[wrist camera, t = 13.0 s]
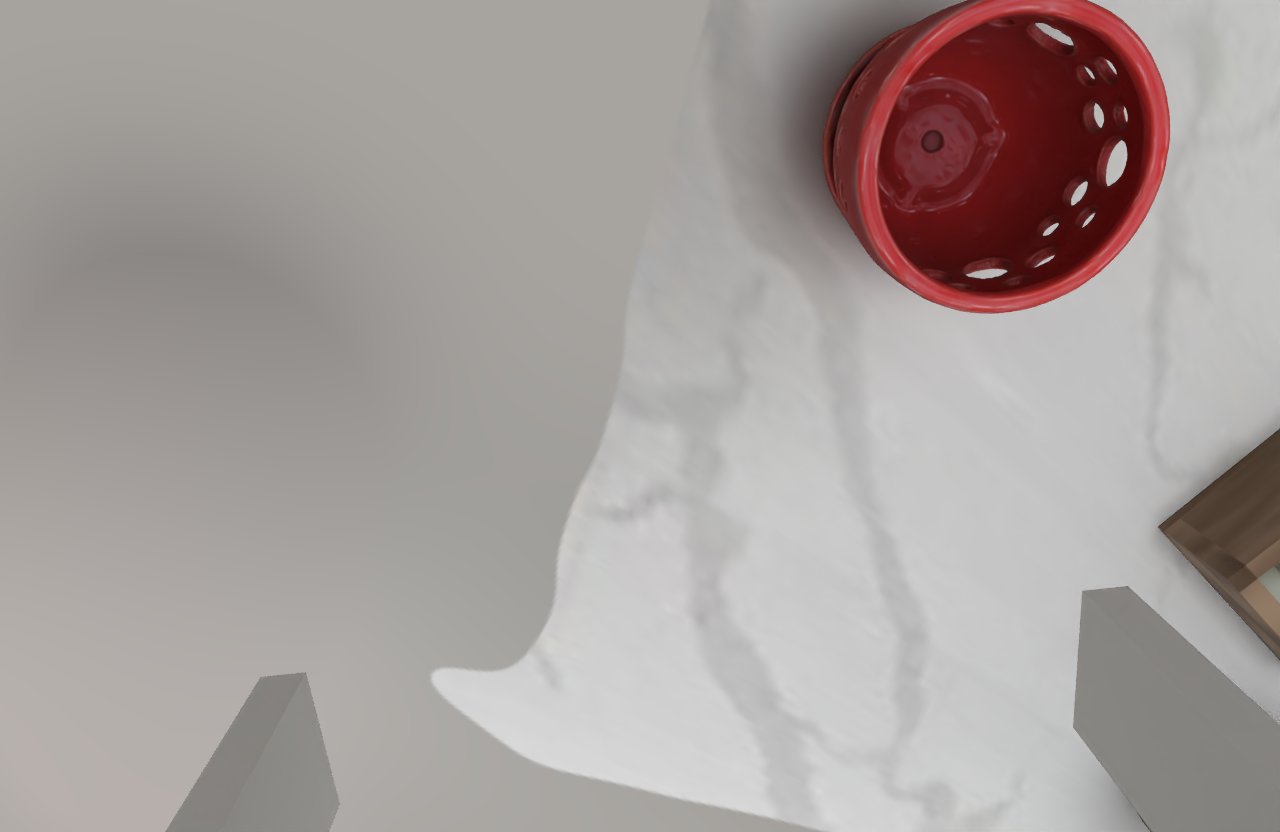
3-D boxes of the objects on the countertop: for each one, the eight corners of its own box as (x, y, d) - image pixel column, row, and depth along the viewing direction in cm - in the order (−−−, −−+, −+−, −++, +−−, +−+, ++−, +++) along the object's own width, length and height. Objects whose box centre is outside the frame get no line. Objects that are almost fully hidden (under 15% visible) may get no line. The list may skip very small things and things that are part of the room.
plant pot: (772, 62, 46) (826, 46, 35) (1022, -19, 46) (1159, -62, 34) (830, 300, 51) (894, 355, 39) (1060, 230, 50) (1193, 264, 38)
